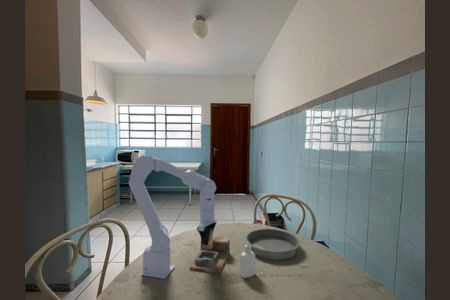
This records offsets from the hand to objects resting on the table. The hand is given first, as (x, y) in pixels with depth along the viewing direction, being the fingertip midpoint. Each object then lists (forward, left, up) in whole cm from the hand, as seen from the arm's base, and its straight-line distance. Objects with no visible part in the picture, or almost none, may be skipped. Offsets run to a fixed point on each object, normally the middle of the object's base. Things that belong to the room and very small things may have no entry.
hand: (207, 242), depth 85 cm
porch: (+1, +2, -8) cm, 9 cm away
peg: (0, 0, -2) cm, 2 cm away
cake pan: (+25, +20, -9) cm, 33 cm away
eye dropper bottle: (+17, -4, -9) cm, 19 cm away
